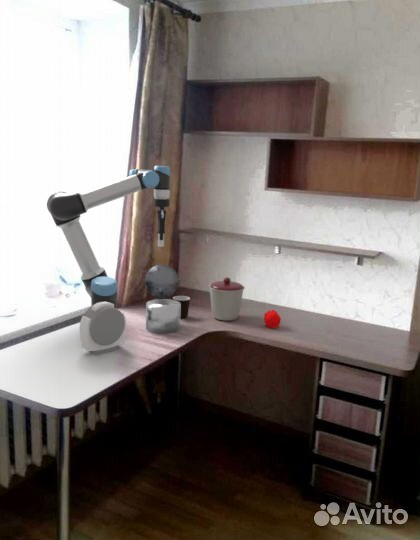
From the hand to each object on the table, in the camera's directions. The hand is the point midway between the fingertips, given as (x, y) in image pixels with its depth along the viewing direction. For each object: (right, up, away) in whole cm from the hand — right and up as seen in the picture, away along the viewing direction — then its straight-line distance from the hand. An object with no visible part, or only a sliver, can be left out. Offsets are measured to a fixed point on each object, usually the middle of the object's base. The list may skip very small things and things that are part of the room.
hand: (160, 246), depth 249 cm
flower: (+55, -40, -4) cm, 68 cm away
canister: (+32, -36, +8) cm, 49 cm away
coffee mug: (+10, -35, +8) cm, 38 cm away
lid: (+1, -17, -7) cm, 19 cm away
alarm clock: (-19, -45, -42) cm, 64 cm away
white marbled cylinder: (+2, -39, -12) cm, 41 cm away
